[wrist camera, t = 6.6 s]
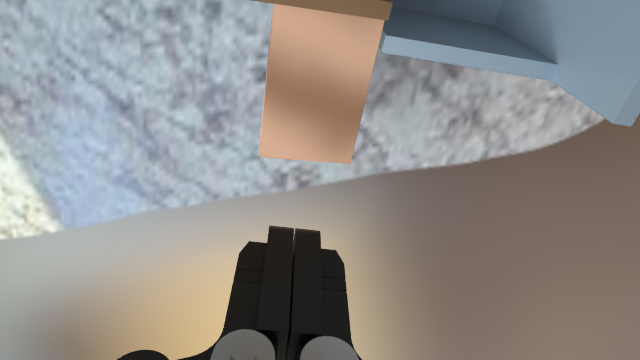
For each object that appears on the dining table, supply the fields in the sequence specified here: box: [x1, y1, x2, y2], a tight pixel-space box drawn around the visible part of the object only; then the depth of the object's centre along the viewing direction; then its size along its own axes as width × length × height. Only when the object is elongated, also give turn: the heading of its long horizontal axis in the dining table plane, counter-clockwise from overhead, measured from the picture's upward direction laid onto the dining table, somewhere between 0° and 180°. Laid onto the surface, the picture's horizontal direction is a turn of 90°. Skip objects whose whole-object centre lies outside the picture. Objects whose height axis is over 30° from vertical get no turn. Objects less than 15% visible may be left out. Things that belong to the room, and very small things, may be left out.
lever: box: [253, 0, 393, 164], centre depth 16 cm, size 14×22×3 cm, turn 80°
